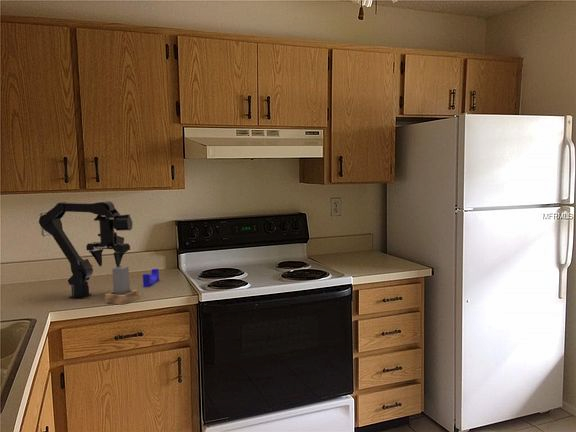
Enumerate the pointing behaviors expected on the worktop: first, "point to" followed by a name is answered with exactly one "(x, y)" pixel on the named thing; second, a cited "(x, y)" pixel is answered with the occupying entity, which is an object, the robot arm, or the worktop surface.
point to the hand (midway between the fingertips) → (109, 266)
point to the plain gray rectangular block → (121, 280)
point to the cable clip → (151, 278)
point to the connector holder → (121, 297)
